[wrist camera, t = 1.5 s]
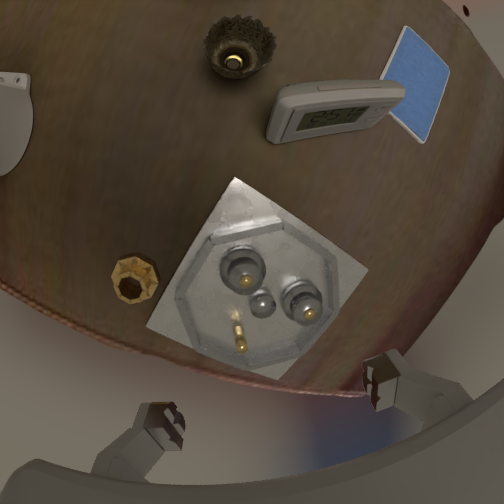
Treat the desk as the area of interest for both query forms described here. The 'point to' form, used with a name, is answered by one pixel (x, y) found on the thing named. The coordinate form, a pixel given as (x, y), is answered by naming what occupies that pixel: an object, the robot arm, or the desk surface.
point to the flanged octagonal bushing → (138, 270)
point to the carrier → (255, 285)
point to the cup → (239, 46)
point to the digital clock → (330, 107)
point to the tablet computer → (416, 83)
